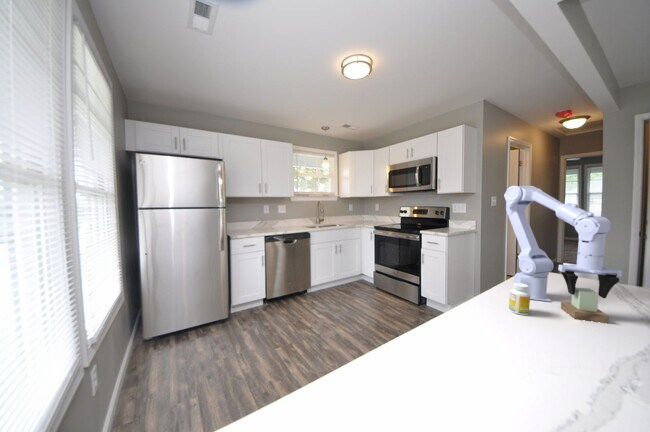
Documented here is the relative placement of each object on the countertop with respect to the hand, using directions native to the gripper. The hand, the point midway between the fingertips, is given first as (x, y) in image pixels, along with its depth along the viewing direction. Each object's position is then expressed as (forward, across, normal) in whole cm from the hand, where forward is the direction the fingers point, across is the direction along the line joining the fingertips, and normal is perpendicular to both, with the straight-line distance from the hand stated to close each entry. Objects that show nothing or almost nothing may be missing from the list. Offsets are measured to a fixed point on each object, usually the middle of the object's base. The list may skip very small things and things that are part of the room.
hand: (586, 295), depth 79 cm
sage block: (+4, 0, 0) cm, 5 cm away
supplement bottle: (+7, -19, -4) cm, 21 cm away
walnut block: (+8, 0, 0) cm, 8 cm away
